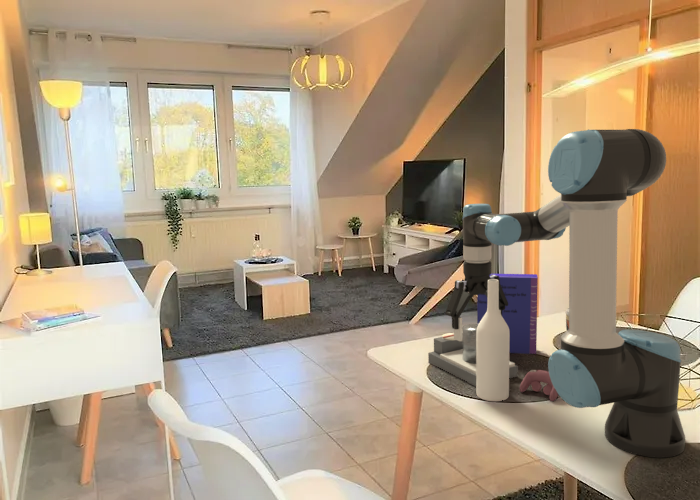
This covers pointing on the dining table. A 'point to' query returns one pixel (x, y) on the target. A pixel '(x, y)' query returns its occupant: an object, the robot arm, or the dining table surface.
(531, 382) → the video game controller
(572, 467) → the dining table surface
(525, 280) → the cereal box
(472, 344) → the steel weight
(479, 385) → the bottle
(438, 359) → the platform scale
